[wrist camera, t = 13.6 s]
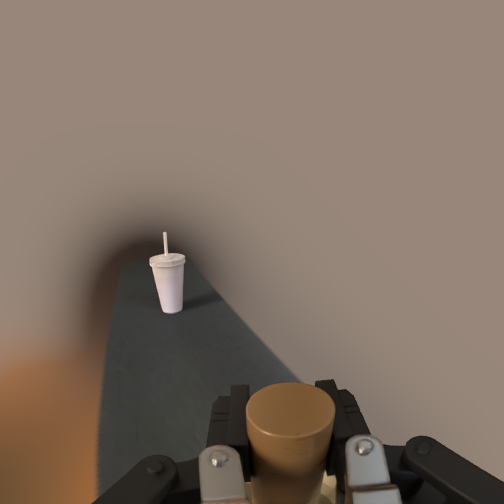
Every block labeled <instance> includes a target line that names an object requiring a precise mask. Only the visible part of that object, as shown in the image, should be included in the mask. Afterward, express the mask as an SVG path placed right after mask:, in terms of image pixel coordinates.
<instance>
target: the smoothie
mask: <svg viewBox="0 0 504 504" xmlns="http://www.w3.org/2000/svg"><path fill="white" fill-rule="evenodd" d="M163 235H164V248H165V254H162V255H157V256H154V257H151V258H150V266H152V269H153V274H154V278H155V282H156V286H157V290H158V294H159V298H160V302H161V306H162V310H163V311H164V312H166V313H176V312H179V311H181V310H182V305H183V272H184V263H185V262H186V261H185V256H184V255H182V254H168V247H167V234H166V232H164V233H163Z"/></svg>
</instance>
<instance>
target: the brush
mask: <svg viewBox="0 0 504 504" xmlns="http://www.w3.org/2000/svg"><path fill="white" fill-rule="evenodd" d="M335 411H336V410H335V404H334V402H333V400H332V398H331V397H330V396H329V395H328V394H327V393H326V392H325V391H323V390H321V389H320V388H318V387H315V386H312V385H308V384H304V383H295V382H287V383H279V384H274V385H270V386H267V387H265V388H263V389H261V390H259V391H258V392H256V393H255V394H254V395H253V396H252V397H251V398H250V399H249V401H248V403H247V406H246V422H247V434H248V439H249V455H250V470H251V493H252V504H318V500H319V496H320V492H321V487H322V483H323V478H324V473H325V468H326V463H327V458H328V453H329V448H330V442H331V436H332V430H333V424H334V418H335Z"/></svg>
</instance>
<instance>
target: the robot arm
mask: <svg viewBox="0 0 504 504" xmlns="http://www.w3.org/2000/svg"><path fill="white" fill-rule="evenodd" d="M315 387H318V388H320V389H321V390H323V391H325V392H326V393H327V394H328V395H329V396H330V397H331V398H332V400H333V402H334V404H335V410H336V411H335V418H334V424H333V430H332V436H331V442H330V448H329V453H328V458H327V463H326V468H325V470H326V474H327V476H333V475H335V478H336V485H335V504H504V482H503V481H501V480H499V479H498V478H496V477H494V476H492V475H491V474H489V473H487V472H486V471H484V470H482V469H480V468H479V467H478V466H476V465H474V464H473V463H471V462H469V461H468V460H466V459H465V458H463V457H461V456H460V455H458V454H456V453H455V452H453V451H452V450H450V449H448V448H447V447H445V446H444V445H442V444H441V443H439V442H438V441H436V440H435V439H433V438H431V437H427V436H417V437H414V438H412V439H410V440H409V441H408V442H407V443H406V445H405V446H390V445H384V444H382V442H381V441H380V440H379V439H378V438H377V437H375V436H372V435H371V434H370V431H369V429H368V427H367V424H366V423H365V420H364V418H363V415H362V413H361V412H360V409H359V406H358V405H357V402H356V400H355V397H354V395H352V394H351V393H350V392H349V391H347V390H346V389H343V390H338V389H337V387H336V384H335V382H334V380H333V379H331V380H321V381H316V382H315ZM249 399H250V393H249V385H232V386H231V396H219V397H218V399H217V400H216V401H215V402H214V403H213V407H212V414H211V421H210V426H209V432H208V438H207V445H206V449H205V450H203V451H202V452H201V454H200V455H199V457H197V458H195V459H193V460H189V461H184V462H178V463H175V462H174V461H173V460H172V459H171V458H169V457H167V456H163V455H152V456H148V457H146V458H144V459H143V460H141V461H140V462H139V463H138V464H137V465H136V466H135V467H133V468H132V469H131V470H130V471H129V472H128V473H127V474H126V475H125V476H123V477H122V478H121V479H120V480H119V481H118V482H117V483H115V484H114V485H113V486H112V487H111V488H110V489H108V490H107V491H106V492H105V493H104V494H103V495H101V496H100V497H99V498H98V499H97V500H95V501H94V502H93V503H92V504H250V501H249V498H248V496H247V491H246V487H245V482H251V470H250V455H249V439H248V434H247V422H246V406H247V403H248V401H249Z"/></svg>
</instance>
